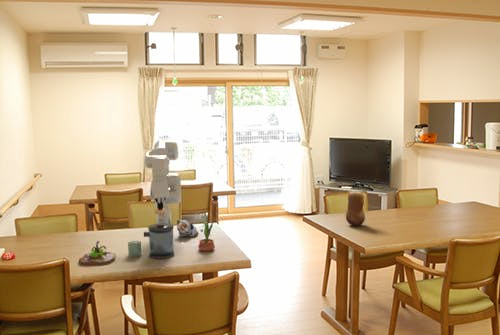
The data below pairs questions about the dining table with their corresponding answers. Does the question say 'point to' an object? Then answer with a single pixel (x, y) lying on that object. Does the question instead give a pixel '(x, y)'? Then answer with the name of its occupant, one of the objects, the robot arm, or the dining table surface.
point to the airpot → (160, 240)
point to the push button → (160, 214)
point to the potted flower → (206, 235)
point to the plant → (97, 257)
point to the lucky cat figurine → (186, 228)
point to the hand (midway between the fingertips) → (160, 209)
